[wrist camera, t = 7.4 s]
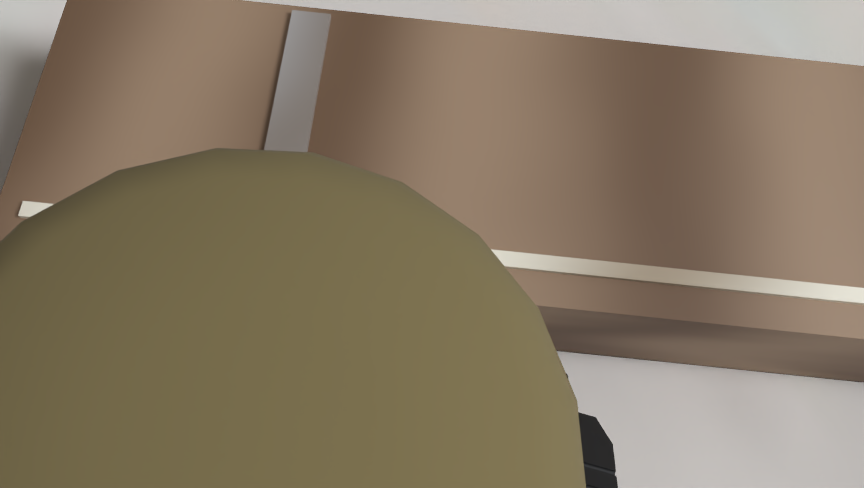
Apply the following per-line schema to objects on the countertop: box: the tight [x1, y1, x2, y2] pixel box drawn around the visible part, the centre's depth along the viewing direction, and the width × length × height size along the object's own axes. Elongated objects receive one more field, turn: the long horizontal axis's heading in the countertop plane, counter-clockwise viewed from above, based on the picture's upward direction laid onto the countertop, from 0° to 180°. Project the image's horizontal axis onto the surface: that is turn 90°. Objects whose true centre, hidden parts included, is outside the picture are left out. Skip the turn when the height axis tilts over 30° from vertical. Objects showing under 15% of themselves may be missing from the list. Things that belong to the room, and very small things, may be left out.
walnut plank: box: [0, 0, 864, 382], centre depth 16 cm, size 24×6×3 cm, turn 85°
